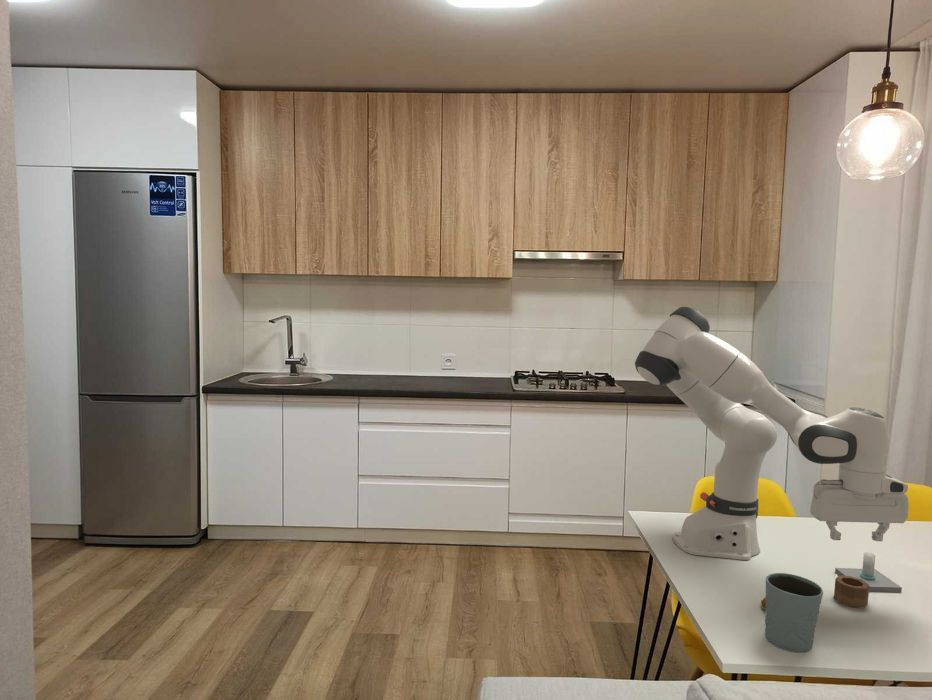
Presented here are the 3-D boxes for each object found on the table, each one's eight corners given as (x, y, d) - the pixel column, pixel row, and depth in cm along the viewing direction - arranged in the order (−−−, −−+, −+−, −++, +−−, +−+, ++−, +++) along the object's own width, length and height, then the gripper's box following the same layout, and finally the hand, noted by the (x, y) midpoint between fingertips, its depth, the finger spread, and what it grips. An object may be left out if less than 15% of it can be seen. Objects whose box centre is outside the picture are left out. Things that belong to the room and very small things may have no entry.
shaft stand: (859, 591, 150) (861, 562, 150) (834, 572, 160) (837, 545, 160) (901, 592, 150) (904, 563, 150) (874, 573, 160) (877, 546, 160)
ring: (845, 607, 142) (846, 587, 142) (829, 593, 148) (830, 575, 148) (872, 607, 142) (874, 588, 142) (855, 594, 148) (857, 576, 148)
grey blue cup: (753, 626, 133) (757, 571, 132) (802, 628, 132) (807, 573, 131) (775, 654, 123) (780, 594, 122) (828, 656, 122) (833, 597, 121)
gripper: (822, 483, 140) (817, 544, 141) (915, 485, 139) (910, 546, 141) (807, 475, 146) (802, 533, 147) (896, 477, 146) (891, 535, 147)
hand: (856, 539), depth 144 cm, fingers open, 8 cm apart
